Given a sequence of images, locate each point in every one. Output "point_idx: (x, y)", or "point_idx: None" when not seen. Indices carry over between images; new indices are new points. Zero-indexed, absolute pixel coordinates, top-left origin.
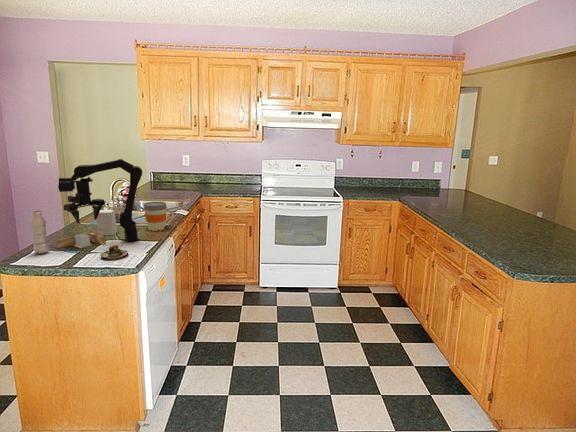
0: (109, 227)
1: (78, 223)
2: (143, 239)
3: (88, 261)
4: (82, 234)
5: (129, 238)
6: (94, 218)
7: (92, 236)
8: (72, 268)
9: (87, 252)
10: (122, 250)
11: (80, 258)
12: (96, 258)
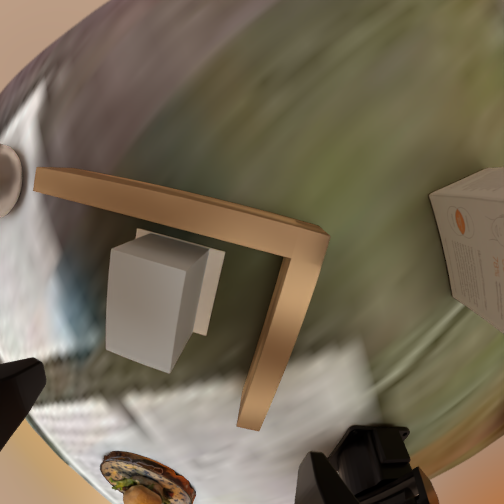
0: (483, 300)
1: (41, 379)
2: None
3: (68, 431)
4: (164, 295)
5: (339, 472)
6: (309, 465)
7: (276, 300)
8: None
9: (108, 387)
10: (189, 497)
11: (60, 397)
12: (97, 443)
